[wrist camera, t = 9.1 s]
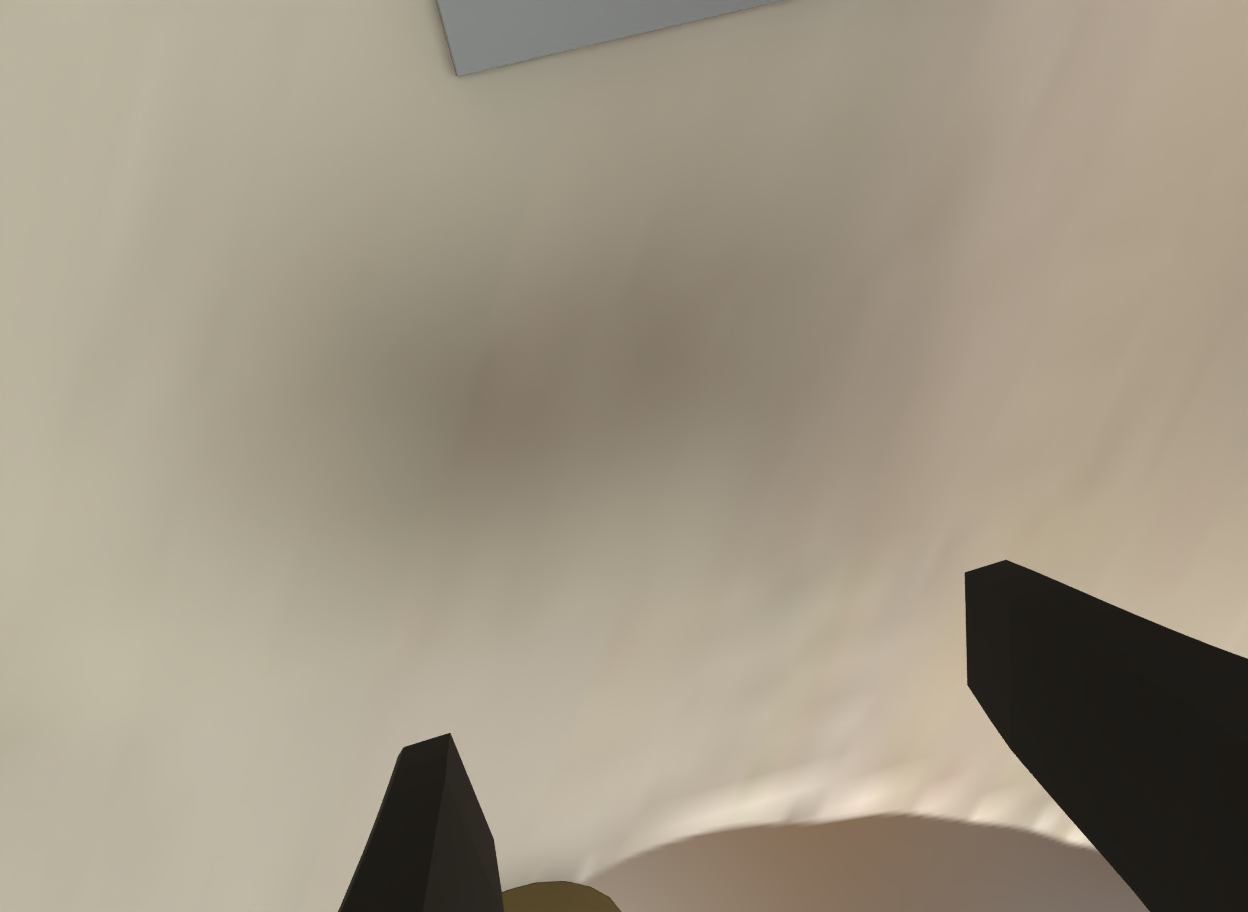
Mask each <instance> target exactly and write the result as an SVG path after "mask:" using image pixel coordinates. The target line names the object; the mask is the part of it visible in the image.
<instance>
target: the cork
mask: <svg viewBox="0 0 1248 912" xmlns="http://www.w3.org/2000/svg"><path fill="white" fill-rule="evenodd" d="M502 899H503V907H504V912H621V911H620V910H619V908H618V907H617V906H616V905H615V904H614V902H613V901H612V900H611V898H610V897H608V896H606V895H604V894H603V893H601V892H599V891H597V890H595V889H594V888H592V887H590V886H584V885H579V884H574V883H569V882H547V883H534V884H530V885H527V886H523V887H519V888H516V889H512V890H509V891H505V892H504V893H502Z"/></svg>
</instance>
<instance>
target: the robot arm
mask: <svg viewBox="0 0 1248 912" xmlns="http://www.w3.org/2000/svg"><path fill="white" fill-rule="evenodd" d="M965 603H966V645H967V685H968V687H969V688H970V690H971V691H972V693H973V694H974V696H975V697H976V699H977V700H978V702H979V703H980V705H981V707H982V708H983V710H984V711H985V713H986V714H987V716H988V717H989V719H990V720H991V722H992V723H993V725H994V726H995V727H996V729H997V730H998V732H999V733H1000V735H1001V736H1002V738H1003V739H1004V740H1005V742H1006V743H1007V745H1008V746H1009V748H1010V749H1011V750H1012V751H1013V753H1014V754H1015V755H1016V756H1017V757H1018V759H1019V760H1020V761H1021V762H1022V763H1023V765H1024V766H1025V767H1026V768H1027V769H1028V770H1029V772H1030V773H1031V774H1032V775H1033V776H1034V777H1035V778H1036V780H1037V781H1038V782H1039V783H1040V784H1041V785H1042V787H1043V788H1044V789H1045V790H1046V791H1047V792H1048V794H1049V795H1050V796H1051V797H1052V798H1053V799H1054V801H1055V802H1056V803H1057V804H1058V805H1059V806H1060V807H1061V809H1062V810H1063V811H1064V812H1065V813H1066V814H1067V815H1068V817H1069V818H1070V819H1071V820H1072V821H1073V822H1074V823H1075V825H1076V826H1077V827H1078V828H1079V829H1080V830H1081V831H1082V833H1083V834H1084V835H1085V836H1086V837H1087V838H1088V840H1089V841H1090V842H1091V843H1092V844H1093V845H1094V846H1095V848H1096V849H1097V850H1098V851H1099V852H1100V853H1101V854H1102V856H1103V857H1104V858H1105V859H1106V860H1107V861H1108V862H1109V863H1110V865H1111V866H1112V867H1113V868H1114V869H1115V870H1116V872H1117V873H1118V874H1119V875H1120V876H1121V877H1122V878H1123V880H1124V881H1125V882H1126V883H1127V884H1128V885H1129V886H1130V888H1131V889H1132V890H1133V891H1134V892H1135V894H1136V895H1137V896H1138V897H1139V899H1140V900H1141V901H1142V902H1143V904H1144V905H1145V906H1146V907H1147V908H1148V910H1149V911H1150V912H1248V659H1247V658H1244V657H1241V656H1239V655H1236V654H1233V653H1230V652H1228V651H1225V650H1222V649H1219V648H1217V647H1214V646H1212V645H1209V644H1206V643H1204V642H1201V641H1199V640H1196V639H1194V638H1191V637H1189V636H1186V635H1183V634H1181V633H1178V632H1176V631H1174V630H1171V629H1169V628H1166V627H1164V626H1161V625H1159V624H1156V623H1154V622H1152V621H1149V620H1147V619H1144V618H1142V617H1140V616H1137V615H1135V614H1132V613H1130V612H1128V611H1125V610H1123V609H1121V608H1118V607H1116V606H1114V605H1111V604H1109V603H1107V602H1104V601H1102V600H1100V599H1097V598H1095V597H1093V596H1091V595H1088V594H1086V593H1084V592H1081V591H1079V590H1077V589H1074V588H1072V587H1070V586H1068V585H1065V584H1063V583H1061V582H1058V581H1056V580H1054V579H1051V578H1049V577H1047V576H1044V575H1042V574H1040V573H1037V572H1035V571H1033V570H1030V569H1028V568H1025V567H1023V566H1020V565H1018V564H1015V563H1013V562H1010V561H1007V560H1004V561H1000V562H997V563H994V564H991V565H987V566H984V567H981V568H978V569H975V570H971V571H968V572H965ZM338 912H504V907H503V899H502V892H501V885H500V878H499V871H498V865H497V858H496V851H495V845H494V839H493V836H492V834H491V831H490V829H489V827H488V824H487V822H486V819H485V817H484V814H483V812H482V809H481V807H480V805H479V802H478V800H477V797H476V795H475V792H474V790H473V787H472V785H471V782H470V780H469V778H468V775H467V773H466V770H465V768H464V765H463V763H462V760H461V758H460V756H459V753H458V751H457V748H456V746H455V743H454V741H453V738H452V736H451V733H448V734H445V735H442V736H438V737H435V738H432V739H429V740H426V741H422V742H419V743H416V744H413V745H409V746H406V747H404V748H403V749H402V751H401V753H400V754H399V756H398V758H397V761H396V764H395V767H394V770H393V773H392V776H391V779H390V782H389V784H388V787H387V790H386V793H385V796H384V799H383V801H382V804H381V807H380V810H379V812H378V815H377V818H376V820H375V823H374V825H373V828H372V831H371V833H370V836H369V838H368V841H367V844H366V846H365V849H364V851H363V854H362V856H361V858H360V861H359V863H358V866H357V868H356V870H355V873H354V875H353V878H352V880H351V882H350V885H349V887H348V890H347V892H346V894H345V897H344V899H343V902H342V904H341V906H340V908H339V911H338Z"/></svg>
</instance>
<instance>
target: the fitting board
mask: <svg viewBox="0 0 1248 912" xmlns="http://www.w3.org/2000/svg"><path fill="white" fill-rule="evenodd" d="M778 1H782V0H436V2H437V6H438V10H439V13H440V17H441V21H442V24H443V28H444V32H445V36H446V39H447V43H448V47H449V50H450V54H451V58H452V61H453V65H454V69H455V72H456V76H461V75H466V74H470V73H474V72H479V71H483V70H487V69H491V68H496V67H500V66H504V65H509V64H513V63H517V62H521V61H526V60H530V59H534V58H538V57H543V56H547V55H551V54H556V53H560V52H564V51H568V50H573V49H577V48H581V47H585V46H590V45H594V44H598V43H603V42H607V41H611V40H615V39H620V38H624V37H628V36H632V35H637V34H641V33H645V32H650V31H654V30H658V29H662V28H667V27H671V26H675V25H680V24H684V23H688V22H692V21H697V20H701V19H705V18H709V17H714V16H718V15H722V14H727V13H731V12H735V11H739V10H744V9H748V8H752V7H756V6H761V5H765V4H769V3H774V2H778Z"/></svg>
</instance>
